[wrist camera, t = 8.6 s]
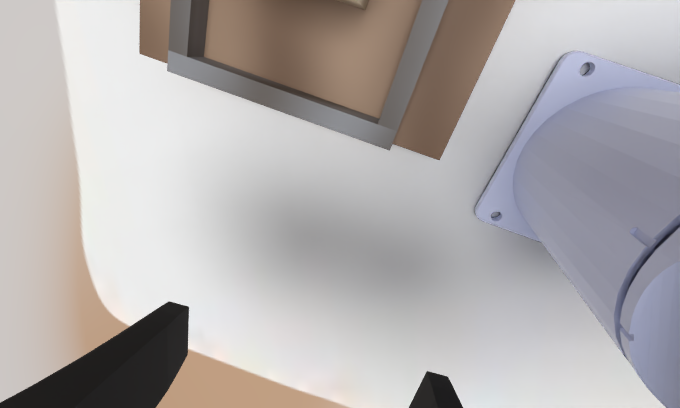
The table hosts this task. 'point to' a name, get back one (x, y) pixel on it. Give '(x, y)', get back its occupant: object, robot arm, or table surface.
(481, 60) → the dock
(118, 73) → the table surface
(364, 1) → the beige lidded box
